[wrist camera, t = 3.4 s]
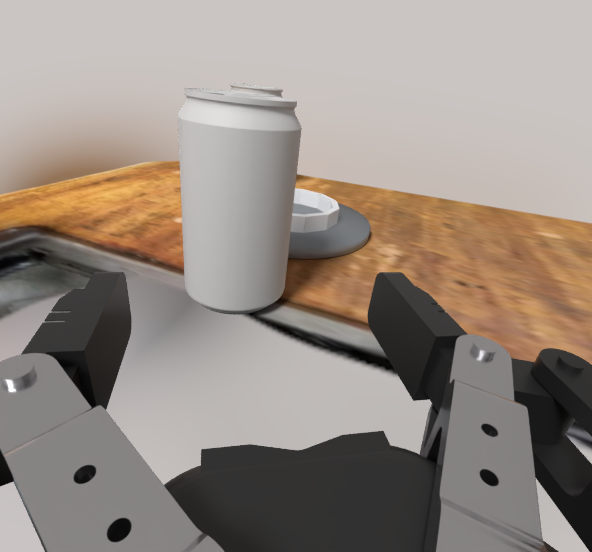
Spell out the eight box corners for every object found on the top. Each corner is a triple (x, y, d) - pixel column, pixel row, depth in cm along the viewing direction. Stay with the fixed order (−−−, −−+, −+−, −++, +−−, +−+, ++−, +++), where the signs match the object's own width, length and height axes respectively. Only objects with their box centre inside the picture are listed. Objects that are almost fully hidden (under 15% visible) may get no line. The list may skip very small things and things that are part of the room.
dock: (388, 224, 40) (393, 201, 39) (328, 278, 27) (332, 247, 26) (266, 192, 46) (267, 172, 45) (171, 224, 33) (169, 198, 32)
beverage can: (183, 273, 26) (174, 82, 20) (271, 269, 28) (285, 94, 22) (187, 326, 20) (176, 88, 15) (296, 316, 22) (322, 102, 17)
